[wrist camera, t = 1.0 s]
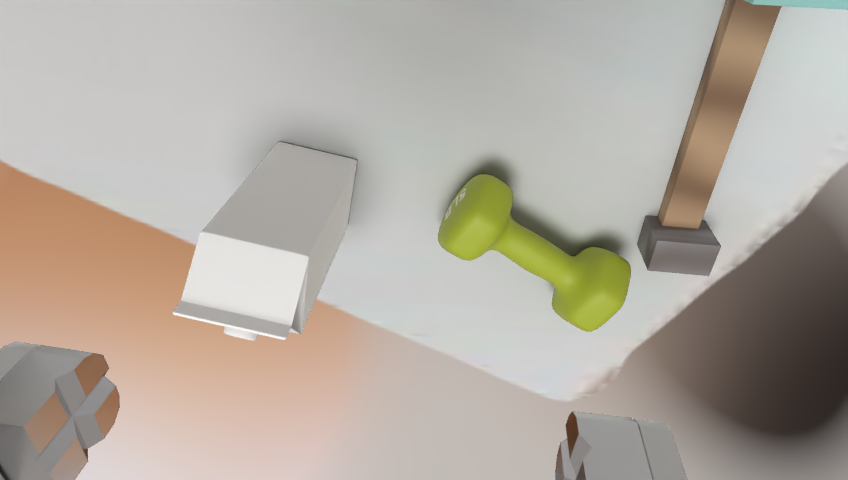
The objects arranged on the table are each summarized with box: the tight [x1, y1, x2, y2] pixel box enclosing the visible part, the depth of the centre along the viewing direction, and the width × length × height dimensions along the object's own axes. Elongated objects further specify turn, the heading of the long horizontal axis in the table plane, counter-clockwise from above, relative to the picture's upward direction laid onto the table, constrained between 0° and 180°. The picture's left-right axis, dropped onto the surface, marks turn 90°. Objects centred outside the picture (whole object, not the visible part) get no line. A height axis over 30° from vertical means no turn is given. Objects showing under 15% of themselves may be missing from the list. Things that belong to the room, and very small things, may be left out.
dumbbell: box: [438, 174, 631, 331], centre depth 46 cm, size 16×8×7 cm, turn 57°
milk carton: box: [173, 142, 357, 340], centre depth 41 cm, size 7×7×19 cm
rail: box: [637, 0, 781, 276], centre depth 39 cm, size 30×5×4 cm, turn 178°
